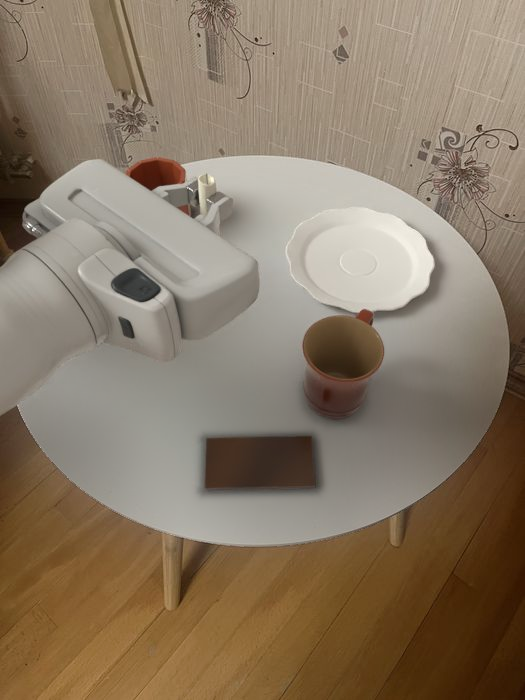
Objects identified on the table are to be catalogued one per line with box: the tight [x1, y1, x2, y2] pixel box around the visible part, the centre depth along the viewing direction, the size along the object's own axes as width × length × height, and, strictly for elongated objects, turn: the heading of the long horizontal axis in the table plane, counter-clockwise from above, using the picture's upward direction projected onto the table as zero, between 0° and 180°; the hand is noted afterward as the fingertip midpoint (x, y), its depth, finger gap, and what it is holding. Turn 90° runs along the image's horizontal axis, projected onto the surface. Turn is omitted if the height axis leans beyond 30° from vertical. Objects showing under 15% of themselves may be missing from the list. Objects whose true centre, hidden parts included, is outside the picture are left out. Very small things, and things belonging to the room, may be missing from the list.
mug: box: [301, 309, 385, 420], centre depth 65 cm, size 12×9×10 cm
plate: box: [284, 206, 436, 314], centre depth 81 cm, size 21×21×2 cm
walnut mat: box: [204, 435, 316, 491], centre depth 63 cm, size 12×6×1 cm, turn 92°
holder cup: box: [125, 156, 192, 217], centre depth 84 cm, size 9×9×8 cm
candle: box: [197, 173, 221, 236], centre depth 53 cm, size 5×5×16 cm
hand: (215, 193), depth 50 cm, fingers closed on candle
